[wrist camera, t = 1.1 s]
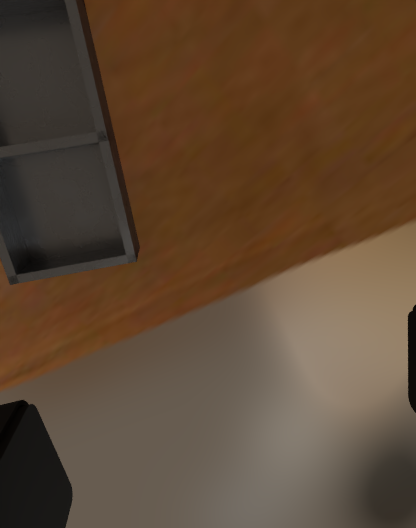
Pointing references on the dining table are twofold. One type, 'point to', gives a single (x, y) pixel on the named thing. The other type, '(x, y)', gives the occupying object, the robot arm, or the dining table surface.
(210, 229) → the dining table surface
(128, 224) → the divided tray
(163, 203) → the dining table surface
